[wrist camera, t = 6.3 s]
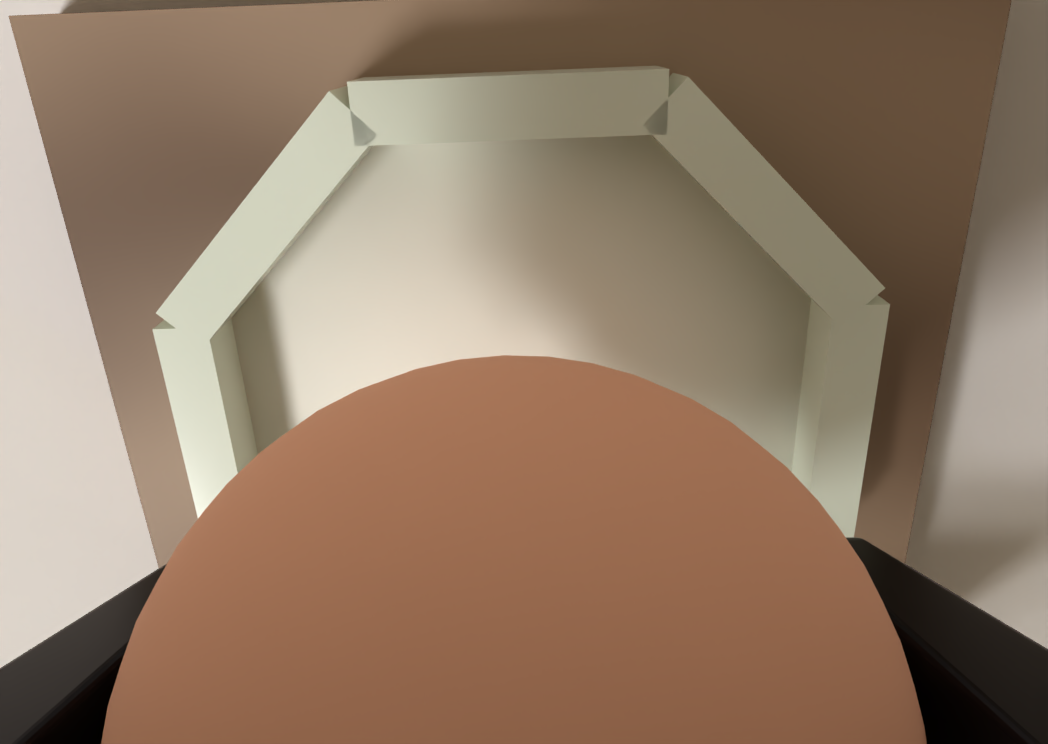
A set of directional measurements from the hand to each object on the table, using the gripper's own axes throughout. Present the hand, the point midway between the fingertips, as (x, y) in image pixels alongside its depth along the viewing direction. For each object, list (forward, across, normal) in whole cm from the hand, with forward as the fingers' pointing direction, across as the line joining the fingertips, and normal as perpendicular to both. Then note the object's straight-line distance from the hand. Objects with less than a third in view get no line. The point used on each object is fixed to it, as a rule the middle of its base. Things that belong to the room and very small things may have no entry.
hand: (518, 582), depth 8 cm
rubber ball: (-2, 0, 0) cm, 2 cm away
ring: (+4, 0, 0) cm, 4 cm away
